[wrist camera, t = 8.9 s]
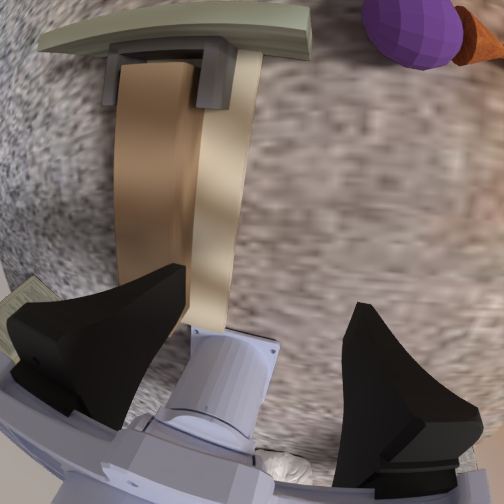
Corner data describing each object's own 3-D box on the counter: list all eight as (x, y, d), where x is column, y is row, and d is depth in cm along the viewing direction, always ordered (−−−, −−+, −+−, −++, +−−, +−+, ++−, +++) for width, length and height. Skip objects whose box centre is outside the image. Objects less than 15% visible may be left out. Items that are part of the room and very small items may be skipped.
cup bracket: (258, 335, 25) (240, 397, 19) (102, 289, 27) (60, 329, 21) (312, 44, 15) (309, 7, 9) (103, 44, 17) (40, 35, 11)
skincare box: (32, 294, 32) (-28, 346, 21) (34, 272, 30) (-34, 327, 19) (65, 325, 32) (7, 386, 21) (69, 305, 30) (3, 370, 19)
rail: (189, 307, 24) (170, 337, 21) (147, 294, 25) (124, 321, 21) (210, 71, 16) (184, 62, 13) (155, 71, 17) (121, 65, 13)
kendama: (597, 138, 8) (381, 62, 11) (554, 115, 13) (355, 61, 16) (601, 68, 5) (371, -45, 7) (556, 55, 9) (349, -18, 12)
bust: (236, 441, 39) (227, 502, 34) (223, 448, 32) (213, 517, 27) (316, 449, 36) (304, 512, 31) (318, 459, 30) (304, 530, 25)
